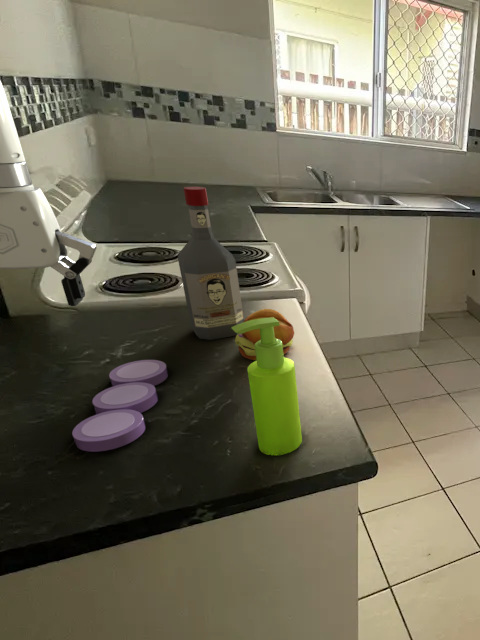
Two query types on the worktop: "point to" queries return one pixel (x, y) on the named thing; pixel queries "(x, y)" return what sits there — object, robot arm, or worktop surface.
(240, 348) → the cheeseburger
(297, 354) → the worktop surface
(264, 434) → the soap dispenser
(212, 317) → the liquor
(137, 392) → the middle dish
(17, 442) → the worktop surface
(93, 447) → the dish
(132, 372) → the dish
